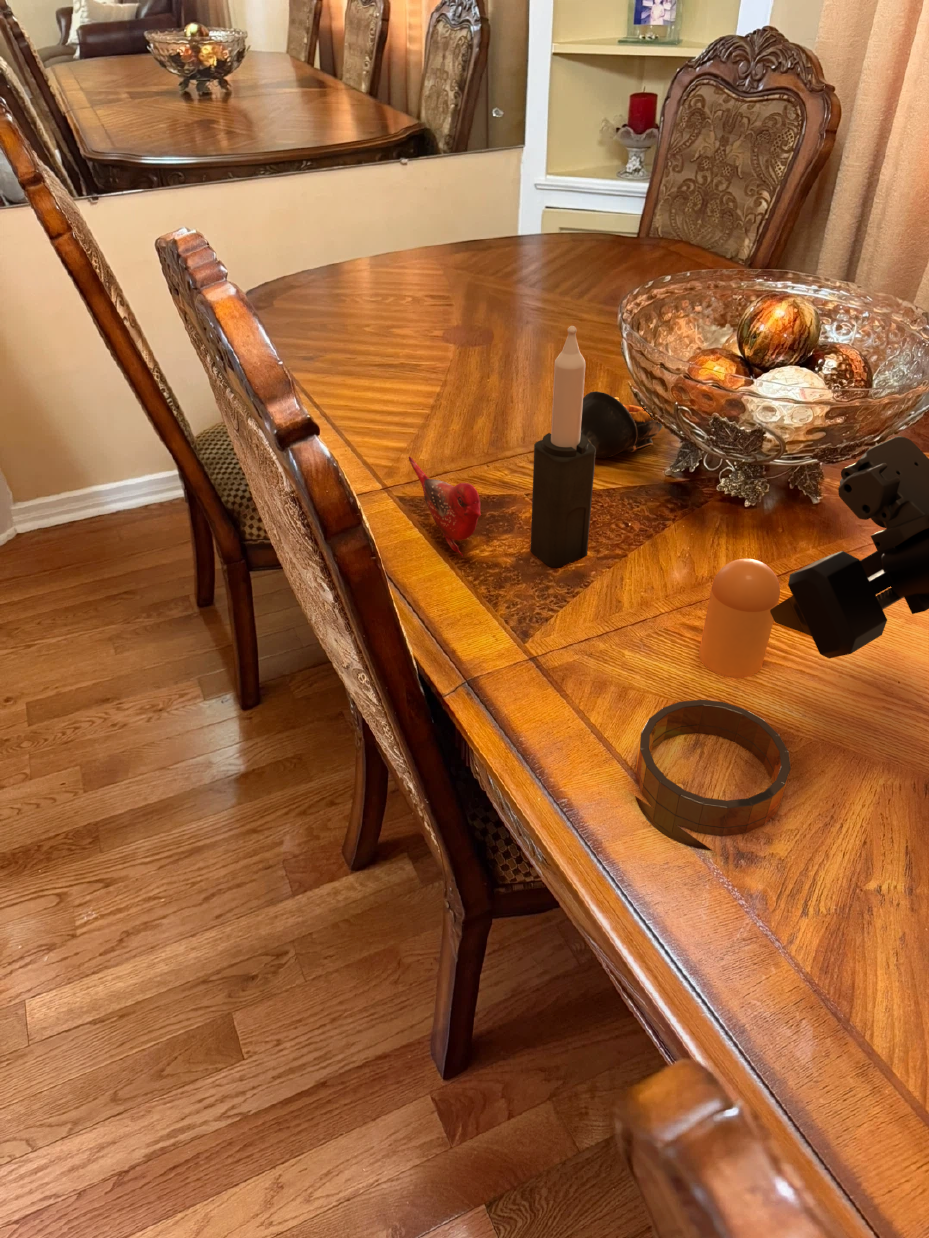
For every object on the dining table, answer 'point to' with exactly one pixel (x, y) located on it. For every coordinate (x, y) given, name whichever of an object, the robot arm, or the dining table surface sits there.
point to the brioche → (739, 618)
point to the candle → (563, 468)
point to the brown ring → (696, 810)
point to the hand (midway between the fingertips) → (812, 594)
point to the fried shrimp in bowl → (616, 425)
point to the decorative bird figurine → (451, 506)
